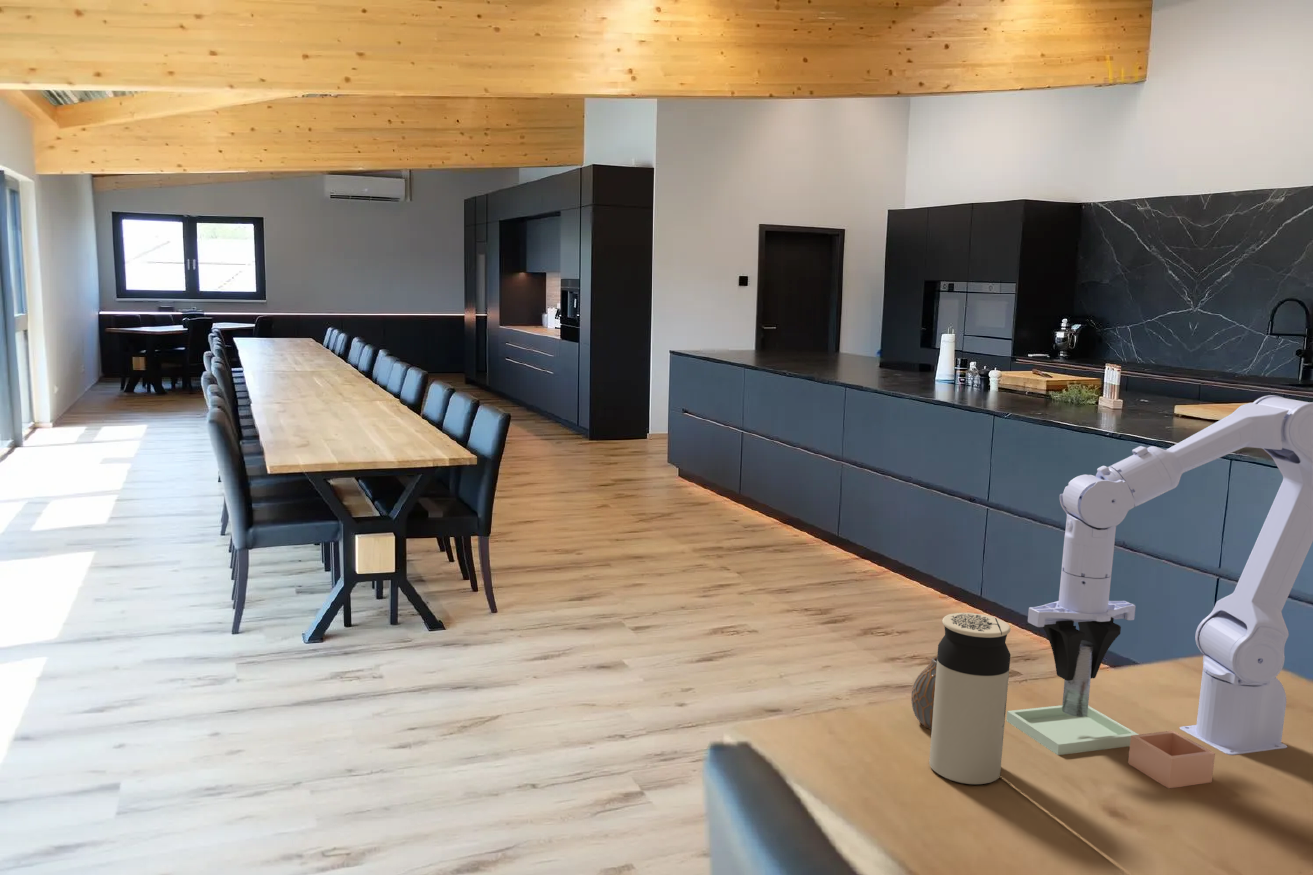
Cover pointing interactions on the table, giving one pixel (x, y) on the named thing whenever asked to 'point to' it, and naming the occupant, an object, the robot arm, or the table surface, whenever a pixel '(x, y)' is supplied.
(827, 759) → the table surface
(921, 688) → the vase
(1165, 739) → the salmon open box
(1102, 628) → the robot arm
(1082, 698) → the dowel
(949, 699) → the travel mug
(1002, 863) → the table surface
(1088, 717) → the tray
